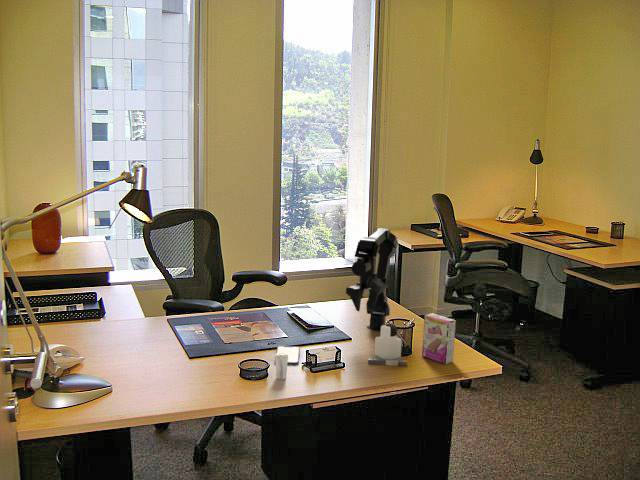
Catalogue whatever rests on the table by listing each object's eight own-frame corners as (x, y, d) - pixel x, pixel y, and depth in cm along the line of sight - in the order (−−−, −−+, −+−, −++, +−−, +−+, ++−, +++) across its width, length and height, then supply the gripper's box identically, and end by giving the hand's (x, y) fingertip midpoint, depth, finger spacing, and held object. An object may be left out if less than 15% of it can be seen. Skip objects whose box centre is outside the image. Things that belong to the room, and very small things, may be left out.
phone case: (298, 367, 253) (300, 350, 268) (298, 362, 253) (300, 346, 268) (274, 366, 253) (276, 349, 268) (274, 362, 252) (276, 345, 268)
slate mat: (374, 351, 268) (375, 351, 268) (400, 353, 267) (400, 352, 267) (374, 361, 259) (374, 360, 259) (400, 362, 258) (400, 361, 258)
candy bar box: (421, 356, 265) (423, 315, 261) (429, 353, 268) (431, 312, 265) (445, 365, 257) (448, 322, 253) (453, 362, 260) (456, 319, 257)
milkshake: (272, 375, 243) (272, 347, 241) (287, 375, 243) (288, 347, 241) (272, 380, 238) (272, 352, 236) (288, 380, 239) (288, 352, 237)
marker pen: (368, 362, 258) (368, 357, 257) (406, 364, 256) (407, 359, 256) (368, 363, 256) (368, 359, 255) (407, 366, 255) (407, 361, 254)
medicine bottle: (388, 351, 268) (389, 321, 266) (401, 357, 263) (402, 326, 260) (374, 355, 264) (375, 324, 261) (386, 361, 258) (388, 329, 256)
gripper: (367, 278, 263) (366, 318, 266) (398, 270, 276) (396, 308, 279) (345, 272, 270) (344, 311, 274) (376, 265, 284) (374, 302, 287)
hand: (365, 308), depth 278 cm, fingers open, 9 cm apart
